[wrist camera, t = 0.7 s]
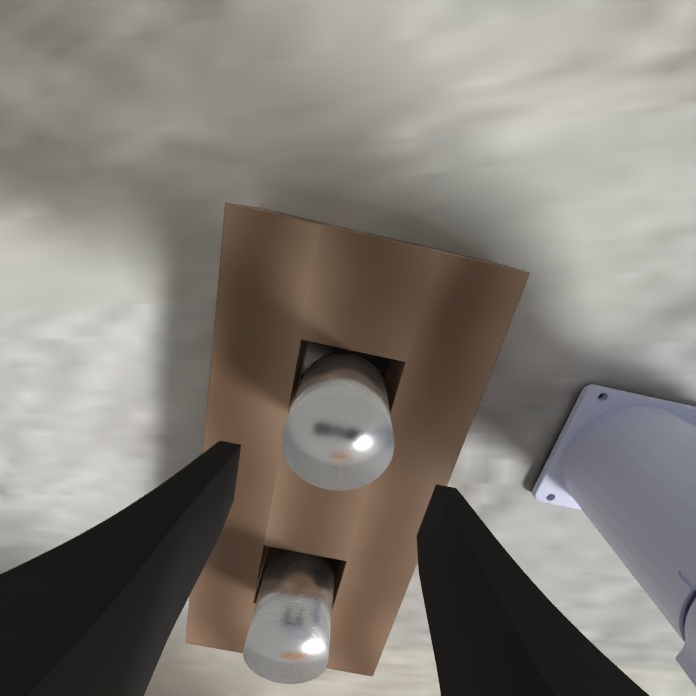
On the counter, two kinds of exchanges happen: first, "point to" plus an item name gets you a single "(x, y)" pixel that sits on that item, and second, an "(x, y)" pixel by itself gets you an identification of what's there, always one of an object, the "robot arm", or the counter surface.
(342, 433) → the peg
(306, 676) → the peg
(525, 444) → the counter surface
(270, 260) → the wooden peg board
